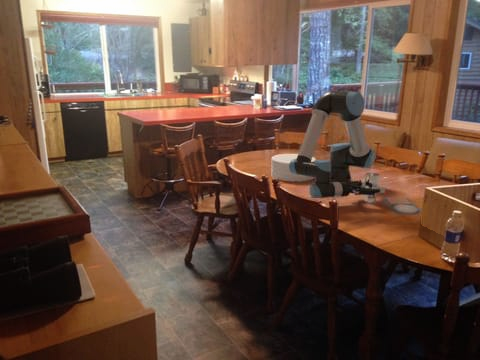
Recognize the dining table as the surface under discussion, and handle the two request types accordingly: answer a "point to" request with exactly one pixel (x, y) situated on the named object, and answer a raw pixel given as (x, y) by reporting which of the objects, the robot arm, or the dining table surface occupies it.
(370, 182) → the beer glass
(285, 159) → the plate stack
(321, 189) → the robot arm
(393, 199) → the square tile
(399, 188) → the dining table surface
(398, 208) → the round coaster
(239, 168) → the dining table surface
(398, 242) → the dining table surface
